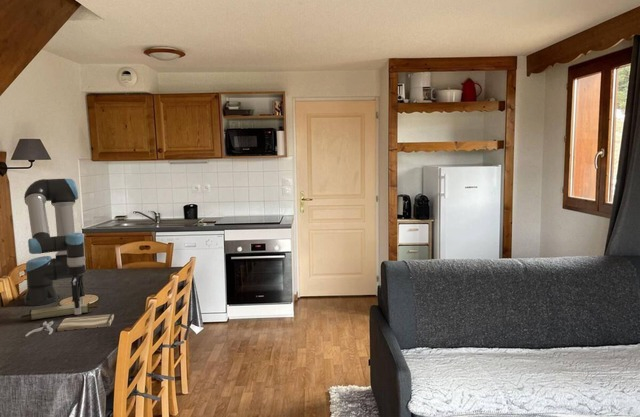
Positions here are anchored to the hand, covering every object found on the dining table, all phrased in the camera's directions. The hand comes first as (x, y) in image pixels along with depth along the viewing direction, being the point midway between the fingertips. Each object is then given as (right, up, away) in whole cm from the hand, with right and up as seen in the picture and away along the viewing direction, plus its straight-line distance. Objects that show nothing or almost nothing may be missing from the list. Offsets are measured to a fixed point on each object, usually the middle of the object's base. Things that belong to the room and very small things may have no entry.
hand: (79, 312), depth 225 cm
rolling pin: (-7, -2, -3) cm, 8 cm away
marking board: (+11, -2, -14) cm, 18 cm away
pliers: (-5, -4, -20) cm, 21 cm away
